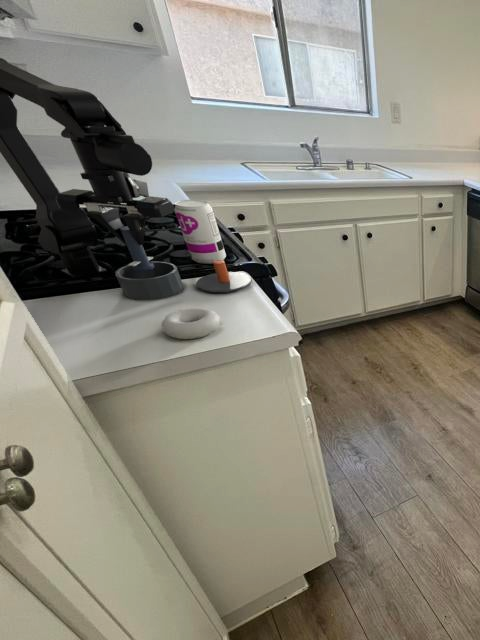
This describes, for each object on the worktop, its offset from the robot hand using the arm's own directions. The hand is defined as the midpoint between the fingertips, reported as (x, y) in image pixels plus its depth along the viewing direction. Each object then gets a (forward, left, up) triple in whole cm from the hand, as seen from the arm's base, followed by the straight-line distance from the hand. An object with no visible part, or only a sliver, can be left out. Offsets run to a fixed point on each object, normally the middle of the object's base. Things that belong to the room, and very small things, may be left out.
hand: (134, 243), depth 92 cm
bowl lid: (+8, +12, -11) cm, 18 cm away
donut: (+24, -5, -11) cm, 27 cm away
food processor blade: (0, 0, -6) cm, 6 cm away
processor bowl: (0, 0, -11) cm, 11 cm away
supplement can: (-10, +19, -11) cm, 25 cm away
